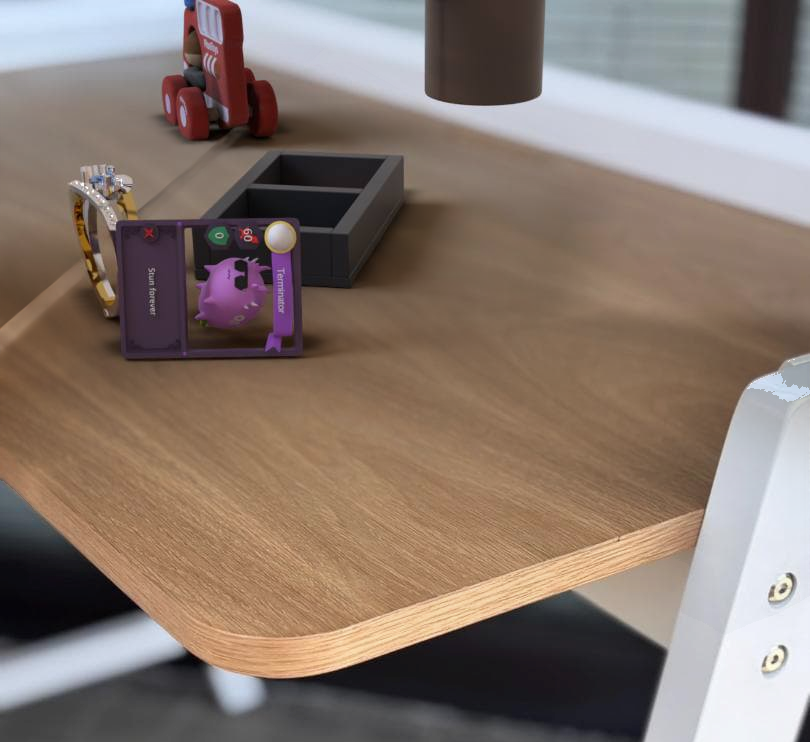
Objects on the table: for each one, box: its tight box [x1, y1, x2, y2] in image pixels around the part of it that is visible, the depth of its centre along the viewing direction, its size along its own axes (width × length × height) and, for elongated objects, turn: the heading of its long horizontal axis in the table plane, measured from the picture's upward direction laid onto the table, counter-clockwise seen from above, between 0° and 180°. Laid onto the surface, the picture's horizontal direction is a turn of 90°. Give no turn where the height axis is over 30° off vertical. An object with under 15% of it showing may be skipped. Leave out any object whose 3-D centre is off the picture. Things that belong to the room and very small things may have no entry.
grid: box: [191, 149, 405, 289], centre depth 91 cm, size 9×17×3 cm, turn 170°
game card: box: [116, 218, 304, 359], centre depth 76 cm, size 7×5×9 cm
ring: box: [66, 163, 139, 319], centre depth 78 cm, size 7×3×8 cm, turn 24°
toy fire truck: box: [161, 0, 279, 141], centre depth 113 cm, size 7×12×10 cm, turn 22°
